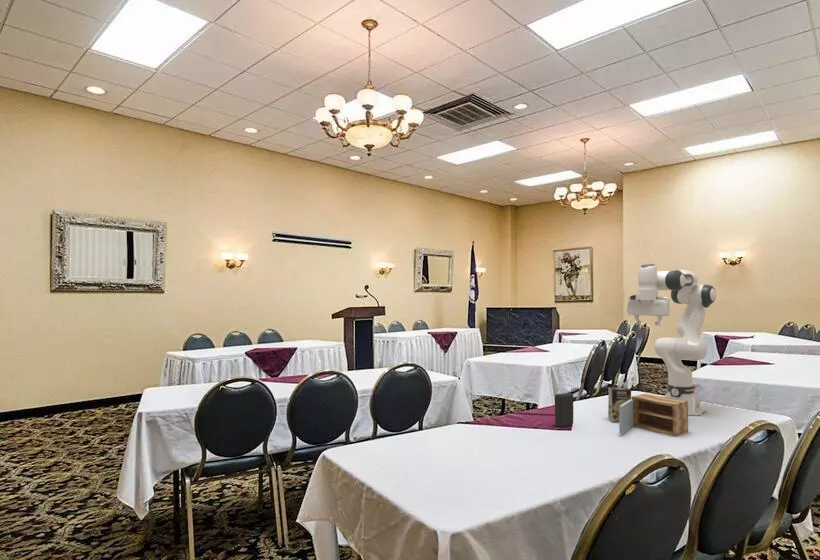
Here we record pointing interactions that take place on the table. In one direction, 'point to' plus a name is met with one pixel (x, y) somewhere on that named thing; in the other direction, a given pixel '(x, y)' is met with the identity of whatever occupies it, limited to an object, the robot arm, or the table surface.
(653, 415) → the cabinet
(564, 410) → the card reader
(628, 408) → the door
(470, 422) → the table surface
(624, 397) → the coffee box
